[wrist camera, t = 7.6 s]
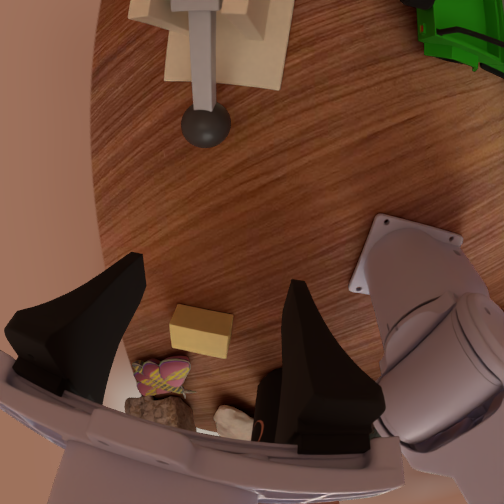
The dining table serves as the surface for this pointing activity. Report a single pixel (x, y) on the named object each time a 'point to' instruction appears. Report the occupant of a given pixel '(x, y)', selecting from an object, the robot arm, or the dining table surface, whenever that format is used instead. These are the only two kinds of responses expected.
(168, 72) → the wooden lever stand
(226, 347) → the butter
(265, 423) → the coffee jar
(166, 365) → the decorative ornament
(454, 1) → the toy car
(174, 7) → the arcade joystick
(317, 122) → the dining table surface
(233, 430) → the stone tool
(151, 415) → the stone
